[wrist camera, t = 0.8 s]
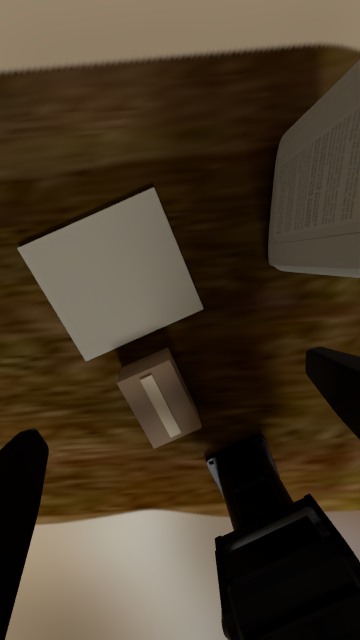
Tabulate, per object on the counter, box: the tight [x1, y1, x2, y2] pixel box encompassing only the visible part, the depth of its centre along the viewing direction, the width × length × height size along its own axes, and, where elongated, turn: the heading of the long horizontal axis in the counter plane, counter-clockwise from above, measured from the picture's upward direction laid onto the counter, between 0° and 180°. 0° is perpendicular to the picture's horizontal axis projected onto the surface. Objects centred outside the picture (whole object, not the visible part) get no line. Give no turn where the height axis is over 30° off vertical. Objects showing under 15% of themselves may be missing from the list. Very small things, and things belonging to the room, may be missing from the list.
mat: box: [17, 187, 203, 361], centre depth 18 cm, size 10×11×1 cm
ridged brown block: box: [117, 347, 202, 449], centre depth 20 cm, size 7×4×3 cm, turn 23°
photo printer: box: [268, 60, 360, 278], centre depth 12 cm, size 10×4×12 cm, turn 1°
